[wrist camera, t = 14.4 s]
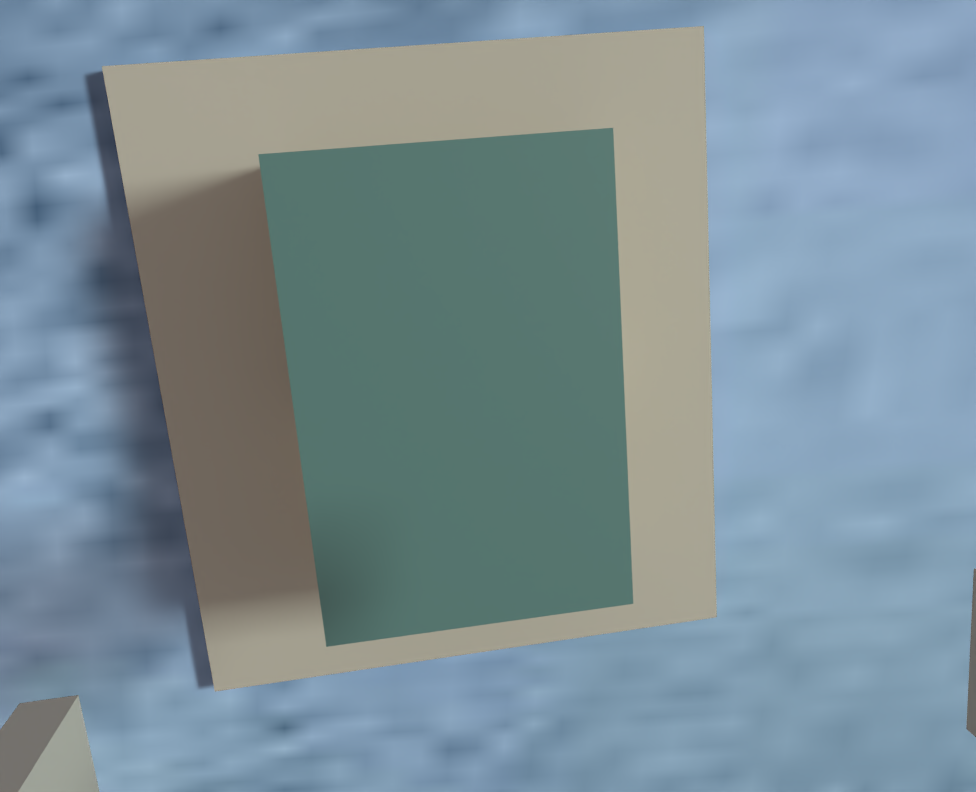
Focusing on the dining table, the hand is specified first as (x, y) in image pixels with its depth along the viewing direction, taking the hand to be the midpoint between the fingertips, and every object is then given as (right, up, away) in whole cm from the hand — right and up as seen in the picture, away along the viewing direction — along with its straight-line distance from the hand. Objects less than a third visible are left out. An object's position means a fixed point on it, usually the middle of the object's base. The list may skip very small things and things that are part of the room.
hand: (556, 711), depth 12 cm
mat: (-2, +5, +13) cm, 14 cm away
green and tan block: (-1, -1, +12) cm, 12 cm away
